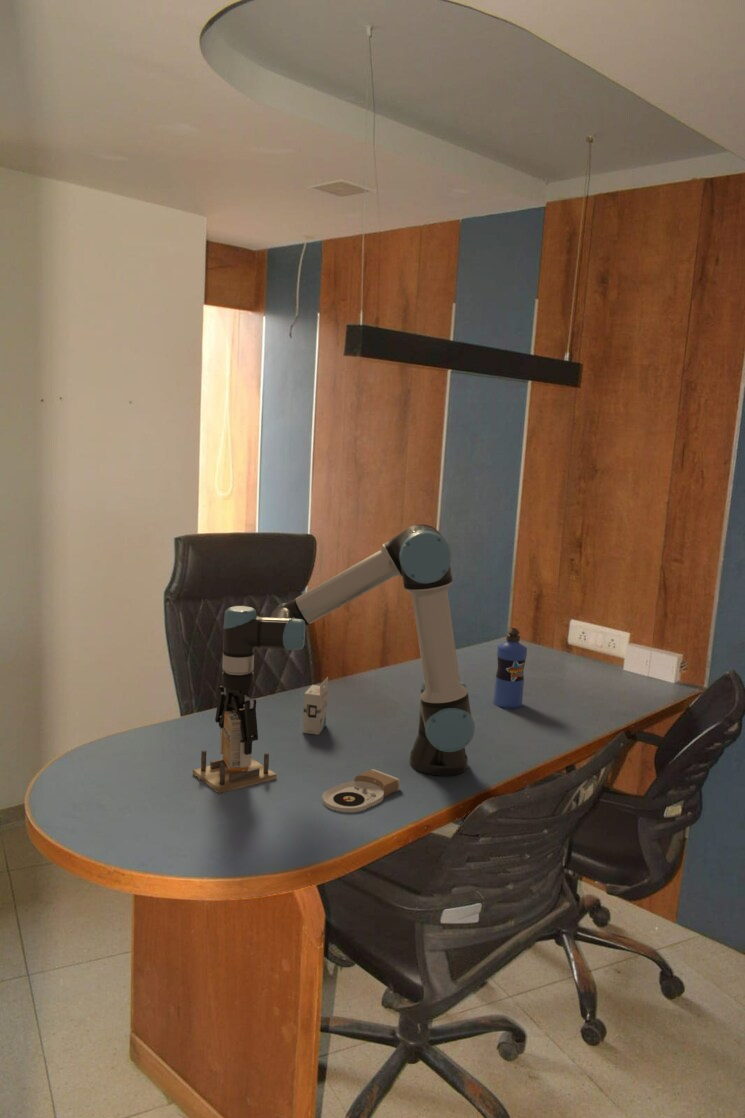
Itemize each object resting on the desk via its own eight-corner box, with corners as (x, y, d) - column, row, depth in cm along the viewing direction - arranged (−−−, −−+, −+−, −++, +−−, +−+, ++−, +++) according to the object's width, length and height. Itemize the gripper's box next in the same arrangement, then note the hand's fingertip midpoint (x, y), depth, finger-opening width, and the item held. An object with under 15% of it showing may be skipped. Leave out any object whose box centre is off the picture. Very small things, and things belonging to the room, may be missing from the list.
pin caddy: (276, 778, 219) (277, 754, 218) (218, 793, 208) (219, 768, 207) (248, 761, 228) (249, 738, 227) (192, 774, 218) (193, 750, 217)
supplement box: (221, 759, 221) (223, 709, 219) (240, 757, 223) (242, 707, 220) (228, 772, 213) (230, 720, 211) (248, 770, 215) (249, 719, 213)
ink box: (310, 723, 259) (312, 674, 256) (326, 725, 258) (328, 676, 255) (301, 733, 250) (304, 682, 248) (318, 735, 249) (321, 684, 247)
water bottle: (527, 707, 284) (534, 631, 279) (502, 709, 280) (508, 632, 276) (512, 698, 292) (518, 624, 288) (487, 700, 289) (493, 625, 285)
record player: (404, 780, 215) (349, 806, 200) (403, 792, 216) (349, 819, 200) (367, 766, 222) (312, 790, 207) (367, 778, 223) (311, 803, 208)
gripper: (275, 680, 208) (272, 771, 212) (229, 657, 225) (226, 742, 228) (248, 685, 203) (244, 777, 207) (202, 661, 220) (200, 747, 224)
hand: (235, 759), depth 218 cm, fingers closed on supplement box, 9 cm apart
